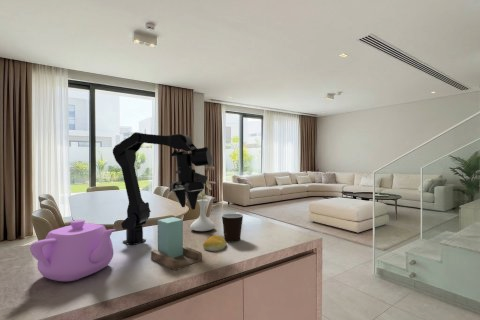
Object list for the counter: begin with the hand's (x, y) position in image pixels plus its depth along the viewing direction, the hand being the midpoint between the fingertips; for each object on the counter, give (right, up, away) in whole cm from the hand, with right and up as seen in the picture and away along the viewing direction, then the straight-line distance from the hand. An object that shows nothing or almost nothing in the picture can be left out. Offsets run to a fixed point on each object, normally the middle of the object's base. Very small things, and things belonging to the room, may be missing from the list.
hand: (188, 208), depth 99 cm
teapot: (-28, -15, -22) cm, 38 cm away
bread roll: (+10, -15, -1) cm, 18 cm away
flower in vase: (+2, -14, +23) cm, 27 cm away
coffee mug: (+17, -15, +9) cm, 24 cm away
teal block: (-4, -15, -10) cm, 18 cm away
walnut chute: (-1, -15, -13) cm, 19 cm away
